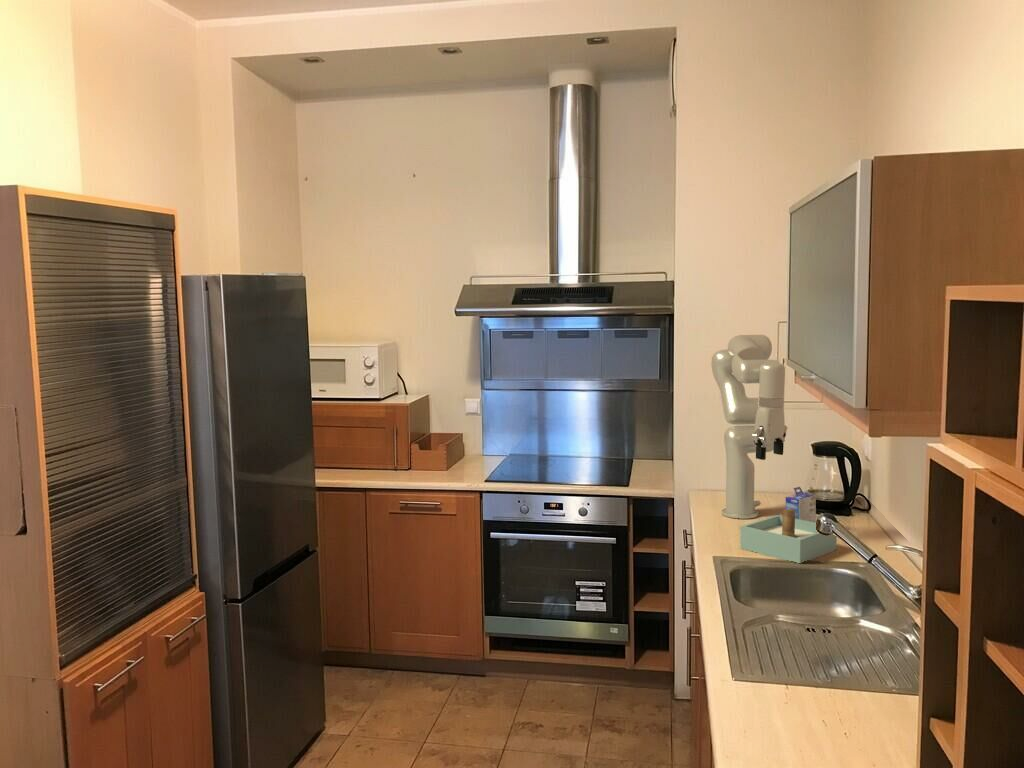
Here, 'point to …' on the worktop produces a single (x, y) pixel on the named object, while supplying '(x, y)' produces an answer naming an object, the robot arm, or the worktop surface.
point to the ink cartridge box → (802, 505)
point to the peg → (788, 522)
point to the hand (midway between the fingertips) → (769, 456)
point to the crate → (786, 540)
